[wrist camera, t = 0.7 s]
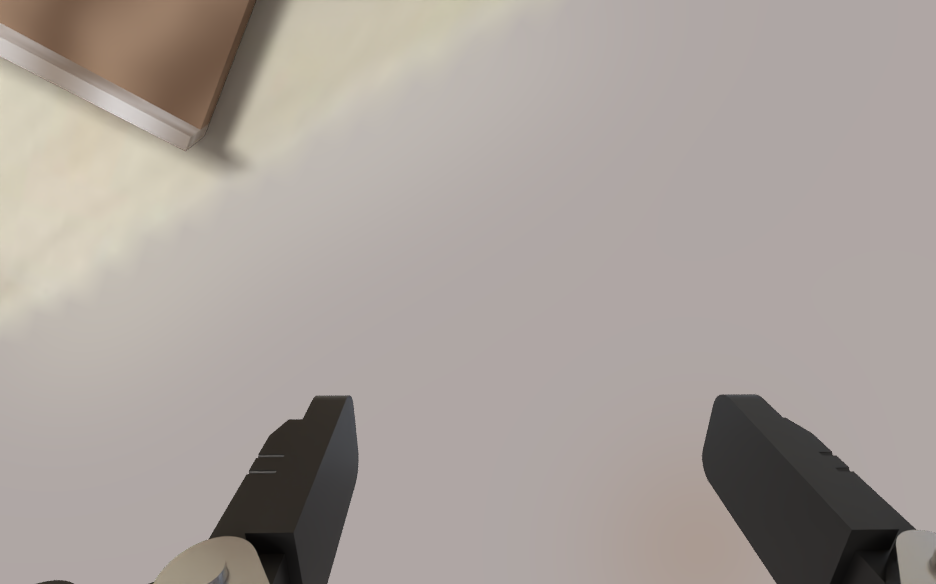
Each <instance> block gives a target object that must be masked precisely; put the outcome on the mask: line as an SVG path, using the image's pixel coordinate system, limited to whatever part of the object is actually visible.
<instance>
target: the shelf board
mask: <svg viewBox="0 0 936 584" xmlns="http://www.w3.org/2000/svg"><path fill="white" fill-rule="evenodd" d="M255 2H256V0H0V57H2V58H4V59H6V60H8V61H10V62H12V63H14V64H16V65H18V66H20V67H22V68H24V69H26V70H28V71H30V72H32V73H33V74H35V75H37V76H39V77H41V78H43V79H45V80H47V81H49V82H51V83H53V84H55V85H57V86H59V87H61V88H63V89H65V90H67V91H69V92H71V93H73V94H75V95H76V96H78V97H80V98H82V99H84V100H86V101H88V102H90V103H92V104H94V105H96V106H98V107H100V108H102V109H104V110H106V111H108V112H110V113H112V114H114V115H116V116H118V117H119V118H121V119H123V120H125V121H127V122H129V123H131V124H133V125H135V126H137V127H139V128H141V129H143V130H145V131H147V132H149V133H151V134H153V135H155V136H157V137H159V138H161V139H162V140H164V141H166V142H168V143H170V144H172V145H174V146H176V147H178V148H180V149H182V150H184V151H186V150H188V149H189V148H190V147H191V146H193V145H194V144H195V143H197V142H198V141H199V140H200V139H202V138H203V137H204V136H205V133H206V130H207V128H208V125H209V123H210V120H211V117H212V115H213V112H214V109H215V107H216V104H217V102H218V99H219V96H220V94H221V91H222V89H223V86H224V83H225V81H226V78H227V75H228V73H229V70H230V68H231V65H232V62H233V60H234V57H235V55H236V52H237V49H238V47H239V44H240V41H241V39H242V36H243V34H244V31H245V28H246V26H247V23H248V21H249V18H250V15H251V13H252V10H253V7H254V5H255Z"/></svg>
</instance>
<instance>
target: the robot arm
mask: <svg viewBox="0 0 936 584" xmlns="http://www.w3.org/2000/svg"><path fill="white" fill-rule="evenodd" d="M702 461H703V467H704V471H705V474H706V477H707V479H708V481H709V482H710V484H711V485H712V487H713V489H714V490H715V492H716V493H717V494H718V496H719V497H720V499H721V501H722V502H723V504H724V505H725V507H726V508H727V510H728V511H729V513H730V514H731V516H732V517H733V519H734V520H735V522H736V523H737V525H738V526H739V528H740V529H741V531H742V532H743V534H744V535H745V537H746V538H747V540H748V541H749V543H750V544H751V546H752V547H753V549H754V550H755V552H756V553H757V555H758V556H759V558H760V559H761V561H762V562H763V564H764V565H765V567H766V568H767V570H768V571H769V573H770V574H771V576H772V577H773V579H774V580H775V582H776V583H777V584H936V533H935V532H930V531H924V530H916V529H915V528H914V527H913V526H912V525H910V523H909V522H907V521H906V520H905V519H904V518H903V517H902V516H901V515H900V514H899V513H898V512H897V511H896V510H894V509H893V508H892V507H891V506H890V505H889V504H888V503H887V502H886V501H885V500H884V499H882V497H880V496H879V495H878V494H877V493H876V492H875V491H874V490H873V489H872V488H871V487H870V486H869V485H867V484H866V483H865V482H864V481H863V480H862V479H861V478H860V477H859V476H858V475H857V474H855V473H854V472H850V471H849V467H848V466H847V465H846V464H845V463H844V462H842V461H841V460H840V459H839V458H838V457H837V456H833V455H832V451H831V450H830V449H828V448H827V447H826V446H825V445H824V444H823V443H822V442H821V441H820V440H819V439H817V437H815V436H814V435H813V434H812V433H811V432H809V431H807V430H806V429H804V428H802V427H800V426H799V425H797V424H795V423H794V422H792V421H790V420H788V419H787V418H783V417H782V416H781V415H780V414H779V413H777V412H776V410H774V409H773V408H772V407H771V406H770V405H769V404H768V403H767V402H766V401H765V400H764V399H763V398H762V397H760V396H758V395H719V396H718V397H717V398H716V399H715V401H714V404H713V408H712V413H711V417H710V422H709V426H708V430H707V434H706V439H705V443H704V447H703V453H702ZM357 473H358V446H357V435H356V425H355V416H354V407H353V400H352V397H351V396H315V397H314V398H313V400H312V402H311V404H310V406H309V408H308V410H307V412H306V414H305V416H304V418H303V419H301V420H288V421H287V422H285V423H284V424H283V425H282V426H281V427H279V428H278V429H277V430H276V431H274V432H273V433H272V434H271V435H270V436H269V437H268V439H267V441H266V443H265V444H264V446H263V448H262V449H261V451H260V453H259V456H258V458H256V460H255V462H254V463H253V465H252V466H251V468H250V470H249V474H248V475H246V477H245V478H244V480H243V482H242V483H241V485H240V487H239V488H238V490H237V492H236V494H235V495H234V497H233V499H232V500H231V502H230V504H229V505H228V507H227V509H226V511H225V512H224V514H223V516H222V517H221V519H220V521H219V523H218V524H217V526H216V528H215V529H214V531H213V533H212V535H211V536H210V538H209V539H208V540H205V541H203V542H200V543H198V544H196V545H194V546H192V547H190V548H188V549H187V550H185V551H184V552H182V553H181V554H179V555H178V556H177V557H175V558H174V559H173V560H172V561H171V562H170V563H169V564H168V565H167V566H166V567H165V568H164V569H163V570H162V571H161V573H160V574H159V575H158V577H157V578H156V580H155V581H154V582H152V583H150V584H327V583H328V579H329V576H330V572H331V568H332V565H333V562H334V558H335V555H336V551H337V547H338V544H339V540H340V537H341V533H342V530H343V526H344V523H345V519H346V516H347V512H348V508H349V505H350V501H351V498H352V494H353V490H354V487H355V483H356V479H357ZM38 584H73V583H71V582H68V581H62V580H61V581H60V580H54V581H47V582H42V583H38Z"/></svg>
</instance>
